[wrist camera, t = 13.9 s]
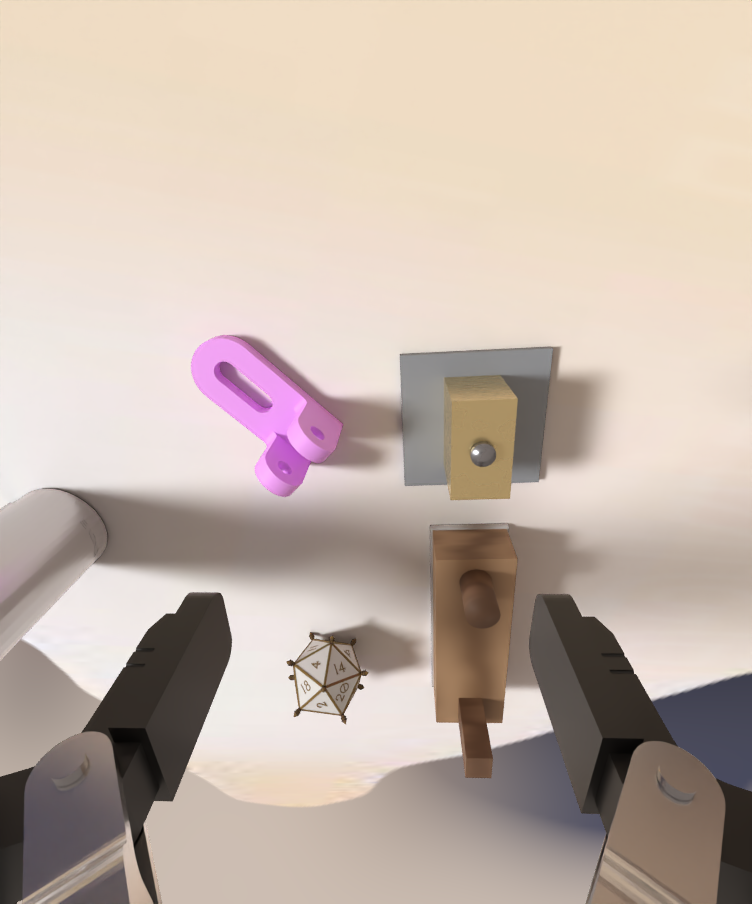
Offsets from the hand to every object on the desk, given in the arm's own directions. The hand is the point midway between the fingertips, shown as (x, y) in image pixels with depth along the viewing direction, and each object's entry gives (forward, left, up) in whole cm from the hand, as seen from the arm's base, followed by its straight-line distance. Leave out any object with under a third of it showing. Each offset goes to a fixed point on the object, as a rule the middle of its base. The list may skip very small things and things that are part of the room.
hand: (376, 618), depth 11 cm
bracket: (-11, -3, -28) cm, 30 cm away
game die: (-8, -33, -28) cm, 44 cm away
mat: (+7, -6, -28) cm, 29 cm away
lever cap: (+6, -6, -27) cm, 29 cm away
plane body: (+7, -28, -28) cm, 40 cm away
